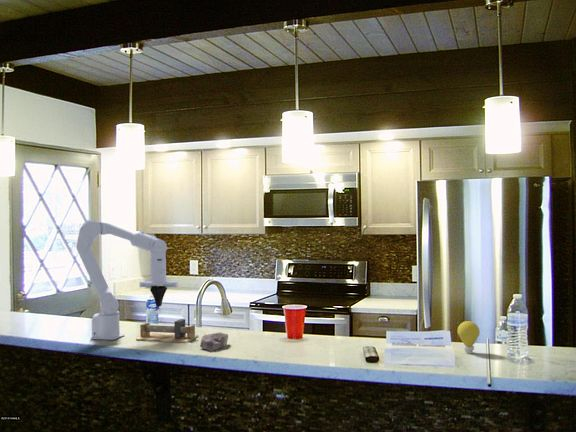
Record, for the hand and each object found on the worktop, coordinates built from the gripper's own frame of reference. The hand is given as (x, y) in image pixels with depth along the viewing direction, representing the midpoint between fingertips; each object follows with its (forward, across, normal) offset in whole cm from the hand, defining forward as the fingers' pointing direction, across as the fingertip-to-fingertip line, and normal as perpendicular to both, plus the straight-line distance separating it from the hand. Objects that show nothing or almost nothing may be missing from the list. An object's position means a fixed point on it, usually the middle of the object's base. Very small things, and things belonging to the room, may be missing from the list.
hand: (158, 306), depth 220 cm
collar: (+10, +12, -10) cm, 18 cm away
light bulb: (+11, +111, -22) cm, 113 cm away
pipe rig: (+10, +6, -9) cm, 15 cm away
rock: (+11, +27, -20) cm, 36 cm away
